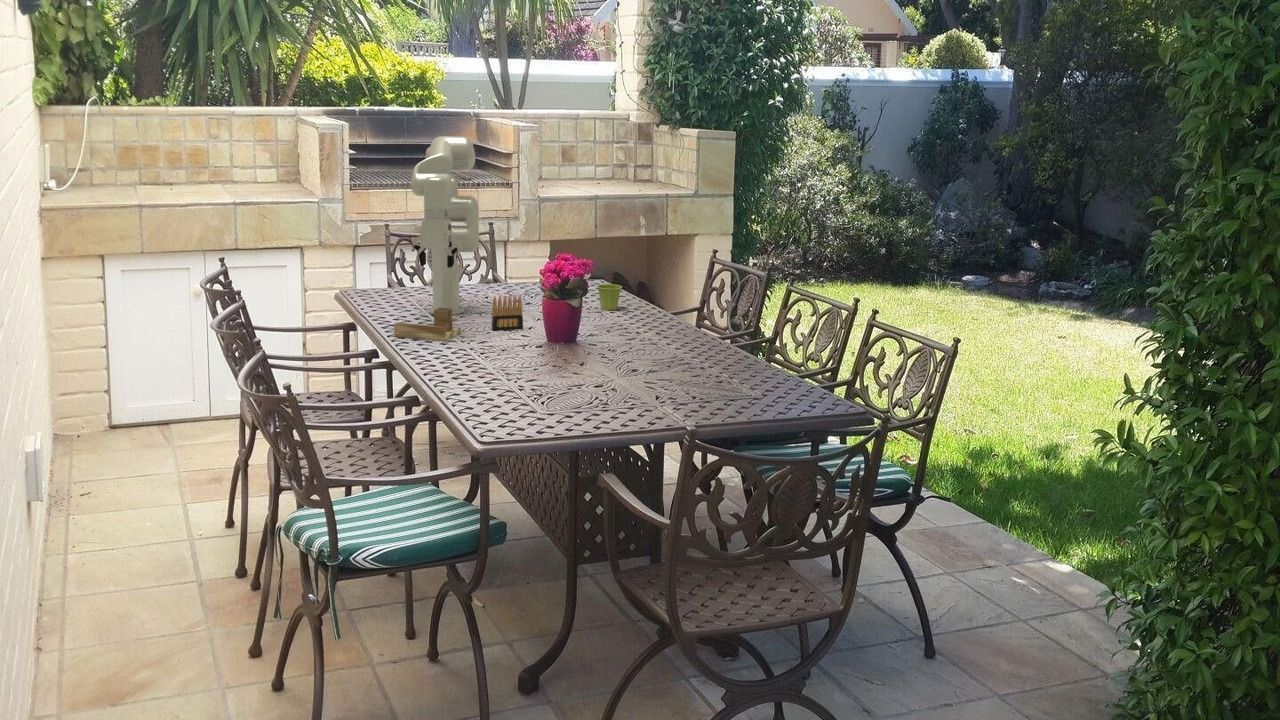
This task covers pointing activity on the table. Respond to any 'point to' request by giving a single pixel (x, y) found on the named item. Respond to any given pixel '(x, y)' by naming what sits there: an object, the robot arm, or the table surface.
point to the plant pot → (609, 296)
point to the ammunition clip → (513, 319)
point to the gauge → (444, 318)
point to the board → (424, 331)
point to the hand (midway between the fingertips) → (436, 266)
